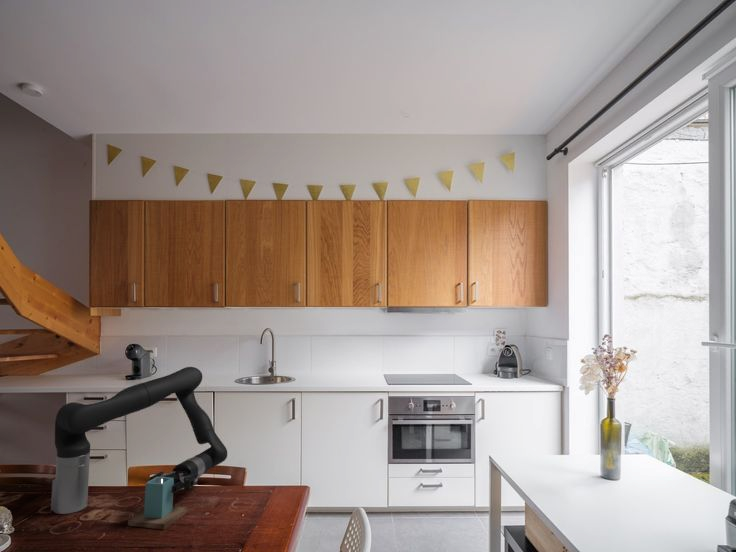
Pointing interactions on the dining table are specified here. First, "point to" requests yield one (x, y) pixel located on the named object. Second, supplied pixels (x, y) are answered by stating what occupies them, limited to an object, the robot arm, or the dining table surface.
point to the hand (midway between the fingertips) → (160, 488)
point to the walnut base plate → (157, 519)
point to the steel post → (160, 480)
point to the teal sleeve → (158, 498)
